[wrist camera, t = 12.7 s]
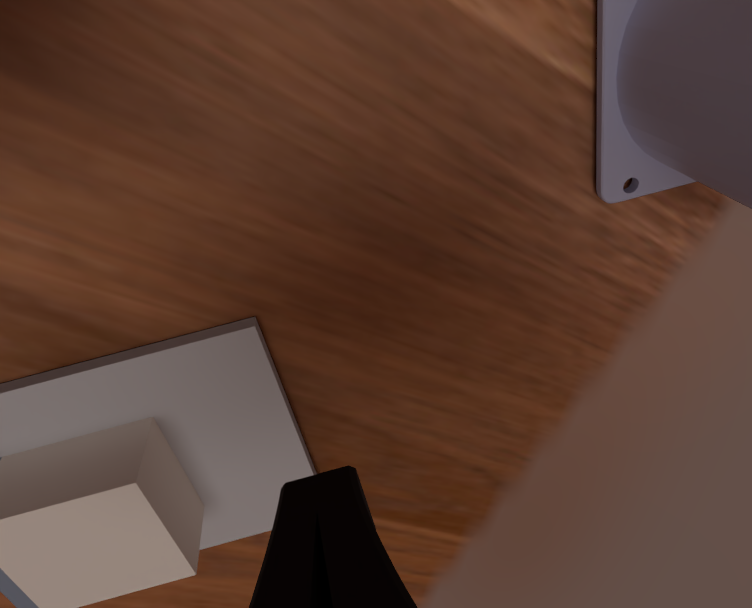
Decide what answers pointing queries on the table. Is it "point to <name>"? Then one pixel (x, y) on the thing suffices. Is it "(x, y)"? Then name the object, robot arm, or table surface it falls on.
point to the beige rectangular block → (96, 518)
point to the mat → (180, 418)
